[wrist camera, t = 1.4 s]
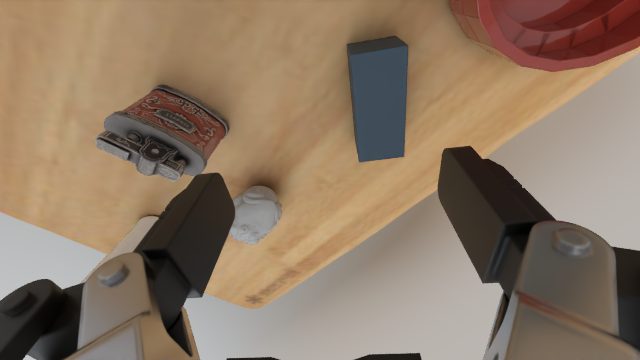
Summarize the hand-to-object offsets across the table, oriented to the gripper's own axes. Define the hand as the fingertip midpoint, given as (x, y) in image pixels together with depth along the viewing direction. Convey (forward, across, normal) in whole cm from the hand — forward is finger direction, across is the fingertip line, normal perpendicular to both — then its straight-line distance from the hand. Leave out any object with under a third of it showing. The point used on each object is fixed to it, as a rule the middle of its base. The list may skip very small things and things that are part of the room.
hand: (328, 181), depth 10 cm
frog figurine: (+19, +11, +15) cm, 26 cm away
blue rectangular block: (+19, -4, +3) cm, 20 cm away
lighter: (+19, +15, +3) cm, 24 cm away
